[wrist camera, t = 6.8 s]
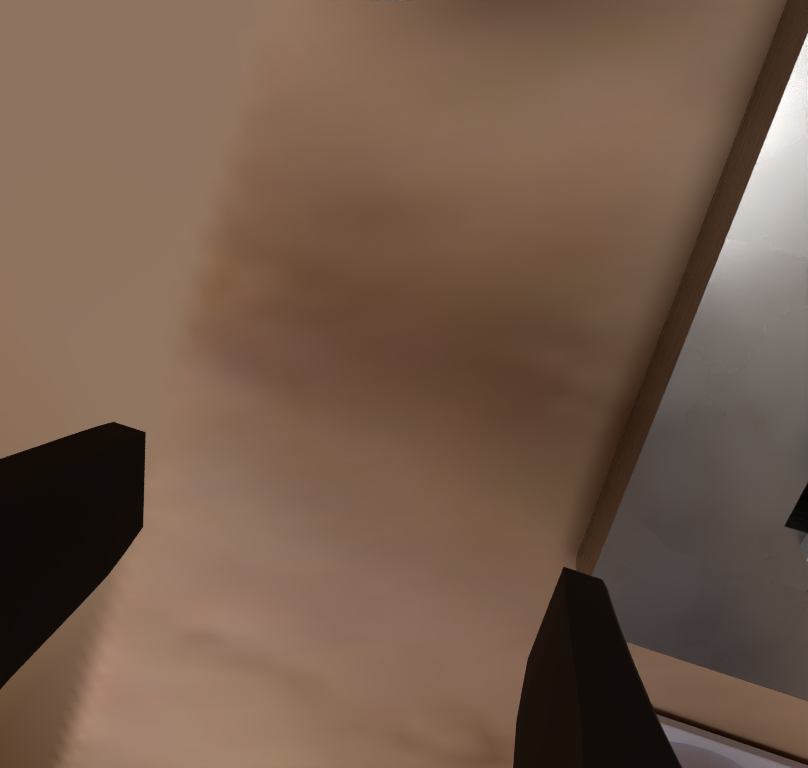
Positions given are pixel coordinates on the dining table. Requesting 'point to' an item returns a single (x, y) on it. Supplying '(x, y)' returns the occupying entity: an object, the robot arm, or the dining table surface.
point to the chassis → (726, 418)
